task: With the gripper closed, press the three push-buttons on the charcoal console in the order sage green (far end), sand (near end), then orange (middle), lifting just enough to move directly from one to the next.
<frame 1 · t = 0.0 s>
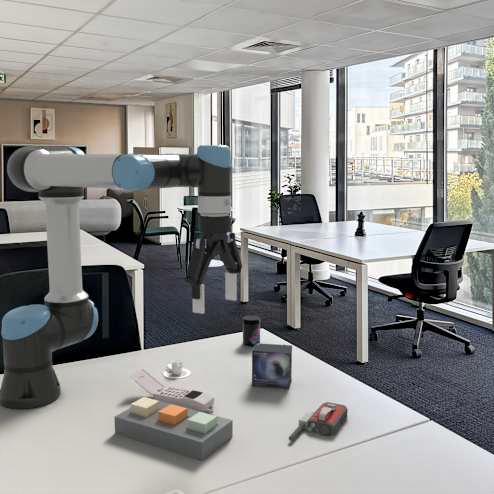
hand: (215, 306, 137), 28 cm above the table, fingers open, 13 cm apart
small box: (271, 384, 164), on the table
supplement container: (251, 344, 198), on the table
button console: (173, 435, 134), on the table
walkie-talkie: (319, 430, 137), on the table
white candle holder: (184, 372, 174), on the table
mobile phone: (174, 402, 152), on the table
sand button: (145, 411, 137), point 4 cm above the table, slide at 0.0 cm
orange button: (173, 419, 133), point 4 cm above the table, slide at 0.0 cm
sage button: (202, 427, 129), point 4 cm above the table, slide at 0.0 cm
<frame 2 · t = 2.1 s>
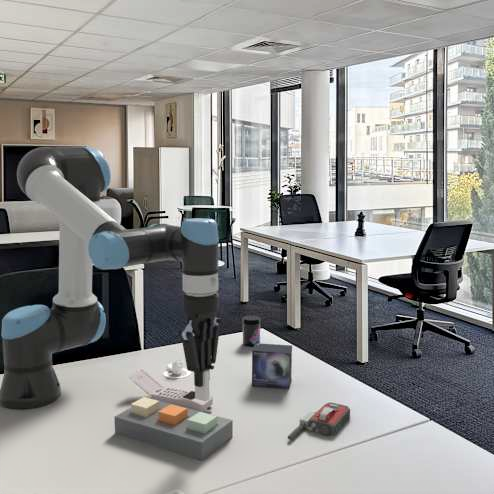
hand: (202, 398, 128), 10 cm above the table, fingers closed
nothing on the table moved.
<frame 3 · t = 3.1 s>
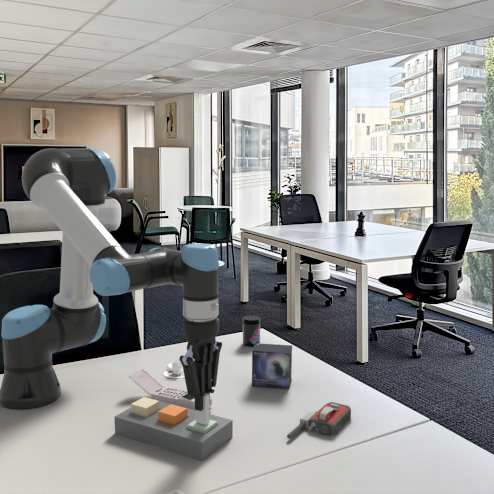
hand: (202, 422, 129), 5 cm above the table, fingers closed
sage button: (202, 432, 129), point 3 cm above the table, slide at 1.2 cm, touching gripper
everything else where it was.
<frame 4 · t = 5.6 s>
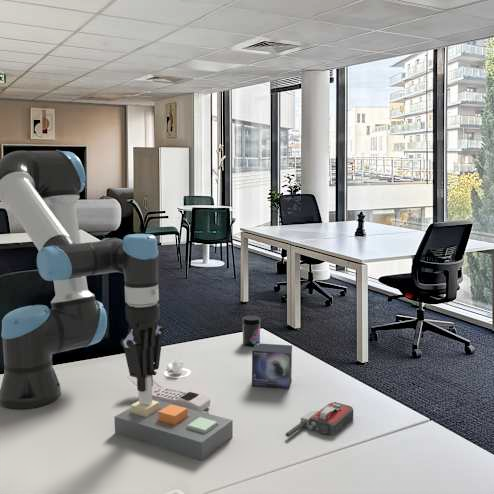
hand: (145, 402, 137), 6 cm above the table, fingers closed
sand button: (145, 412, 137), point 4 cm above the table, slide at 0.3 cm, touching gripper
sage button: (202, 433, 129), point 2 cm above the table, slide at 1.3 cm
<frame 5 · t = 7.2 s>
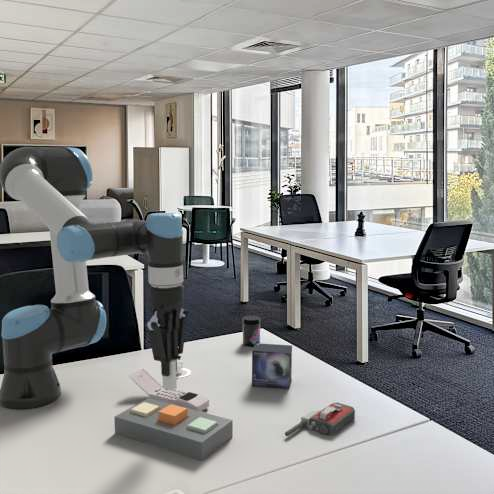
hand: (169, 388, 132), 11 cm above the table, fingers closed
sand button: (145, 416, 137), point 2 cm above the table, slide at 1.3 cm
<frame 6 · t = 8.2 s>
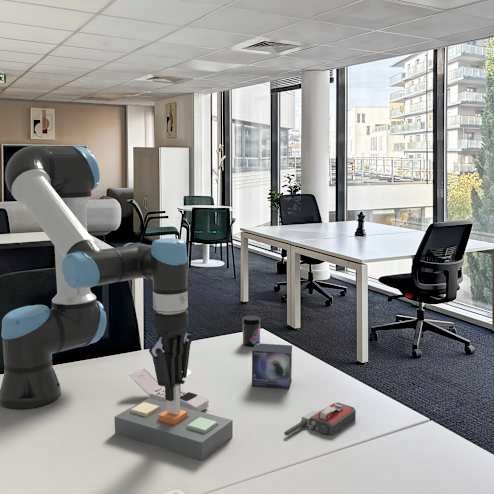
hand: (173, 412, 133), 6 cm above the table, fingers closed
orange button: (173, 422, 133), point 3 cm above the table, slide at 0.8 cm, touching gripper
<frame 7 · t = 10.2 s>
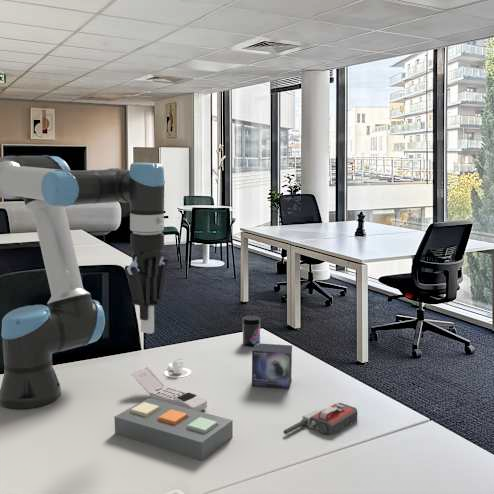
hand: (147, 331, 138), 22 cm above the table, fingers closed
orange button: (173, 424, 133), point 2 cm above the table, slide at 1.3 cm
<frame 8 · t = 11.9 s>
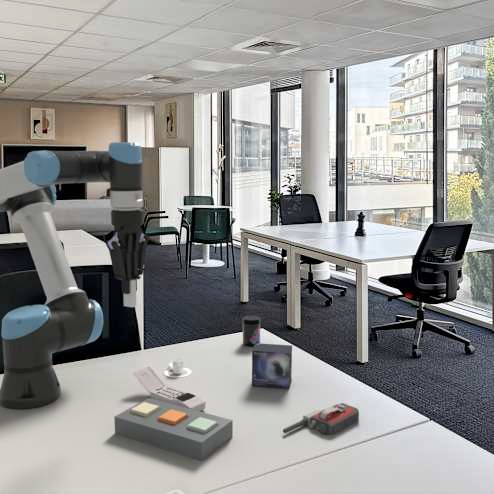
hand: (130, 305, 143), 26 cm above the table, fingers closed
at the end: sage button slide at 1.3 cm; sand button slide at 1.3 cm; orange button slide at 1.3 cm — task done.
